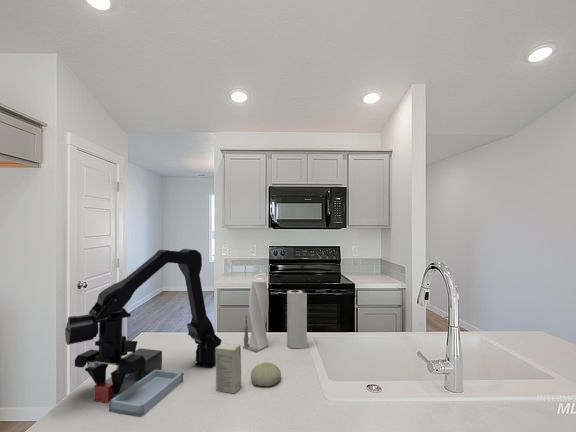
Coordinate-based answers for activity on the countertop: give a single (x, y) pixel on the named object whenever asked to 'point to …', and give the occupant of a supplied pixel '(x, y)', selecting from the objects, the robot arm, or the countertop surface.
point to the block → (149, 360)
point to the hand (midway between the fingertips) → (109, 392)
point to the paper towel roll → (296, 319)
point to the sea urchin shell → (265, 374)
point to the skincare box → (228, 367)
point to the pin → (106, 391)
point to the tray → (145, 393)
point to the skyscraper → (257, 315)
